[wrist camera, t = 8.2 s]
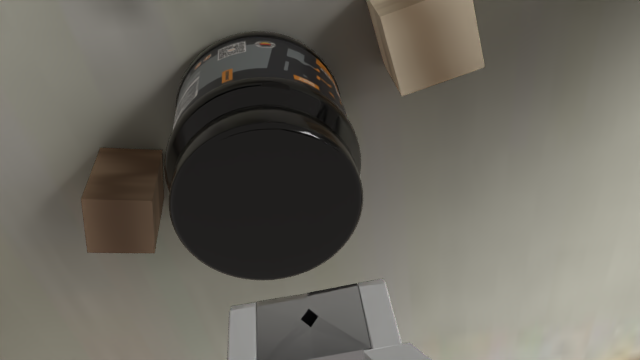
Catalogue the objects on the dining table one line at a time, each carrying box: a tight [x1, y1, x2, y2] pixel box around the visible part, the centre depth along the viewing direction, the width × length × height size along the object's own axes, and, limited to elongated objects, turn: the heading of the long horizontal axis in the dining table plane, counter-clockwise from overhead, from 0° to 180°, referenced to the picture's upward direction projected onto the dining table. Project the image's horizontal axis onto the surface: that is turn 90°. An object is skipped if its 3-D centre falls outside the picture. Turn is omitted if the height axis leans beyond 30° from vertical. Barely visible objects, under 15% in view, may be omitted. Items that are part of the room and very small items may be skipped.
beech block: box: [366, 0, 485, 96], centre depth 35 cm, size 5×5×5 cm
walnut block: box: [81, 148, 164, 253], centre depth 38 cm, size 4×4×6 cm
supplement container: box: [165, 31, 363, 280], centre depth 34 cm, size 10×10×12 cm
